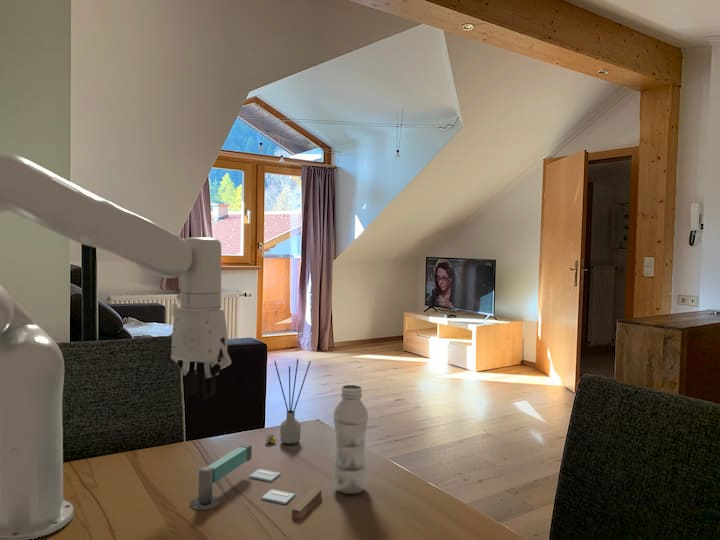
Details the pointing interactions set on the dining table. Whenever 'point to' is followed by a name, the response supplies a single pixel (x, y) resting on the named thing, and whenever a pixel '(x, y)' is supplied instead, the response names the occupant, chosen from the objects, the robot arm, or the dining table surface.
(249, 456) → the boom bar
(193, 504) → the pivot plate
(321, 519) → the dining table surface
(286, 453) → the dining table surface
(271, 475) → the label cards
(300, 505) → the sill
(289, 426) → the reed diffuser
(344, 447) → the plastic bottle
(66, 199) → the robot arm
